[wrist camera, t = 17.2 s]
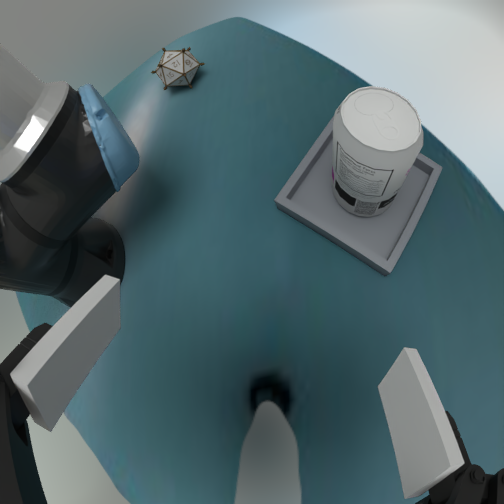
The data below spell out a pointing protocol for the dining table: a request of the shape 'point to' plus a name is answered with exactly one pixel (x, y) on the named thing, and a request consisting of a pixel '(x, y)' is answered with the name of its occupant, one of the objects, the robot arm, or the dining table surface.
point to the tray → (350, 225)
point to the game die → (177, 67)
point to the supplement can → (373, 149)
